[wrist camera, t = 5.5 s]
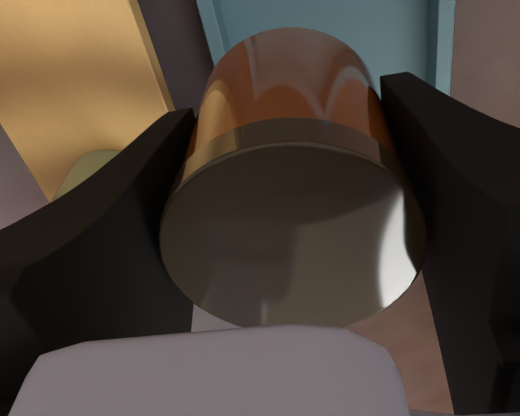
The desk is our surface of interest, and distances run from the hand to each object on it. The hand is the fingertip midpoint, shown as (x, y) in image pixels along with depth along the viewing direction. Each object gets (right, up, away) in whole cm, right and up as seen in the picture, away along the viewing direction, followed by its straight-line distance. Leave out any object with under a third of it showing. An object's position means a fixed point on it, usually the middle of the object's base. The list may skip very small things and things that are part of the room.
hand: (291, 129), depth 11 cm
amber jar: (0, 0, +1) cm, 1 cm away
